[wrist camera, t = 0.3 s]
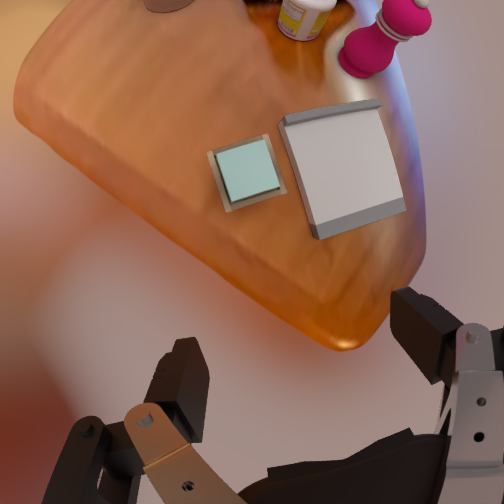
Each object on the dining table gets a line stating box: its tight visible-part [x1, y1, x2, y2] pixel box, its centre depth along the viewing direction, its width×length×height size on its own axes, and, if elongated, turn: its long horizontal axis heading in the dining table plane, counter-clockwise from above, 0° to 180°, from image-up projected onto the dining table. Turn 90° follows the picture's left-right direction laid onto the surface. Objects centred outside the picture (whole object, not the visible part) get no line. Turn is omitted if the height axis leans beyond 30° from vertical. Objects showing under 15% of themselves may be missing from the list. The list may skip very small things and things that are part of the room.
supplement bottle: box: [278, 0, 337, 41], centre depth 26 cm, size 7×7×13 cm
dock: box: [278, 98, 406, 240], centre depth 34 cm, size 16×14×5 cm
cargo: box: [216, 140, 280, 201], centre depth 23 cm, size 4×4×3 cm
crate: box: [206, 134, 287, 213], centre depth 30 cm, size 6×6×13 cm
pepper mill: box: [338, 0, 432, 78], centre depth 24 cm, size 7×7×20 cm
